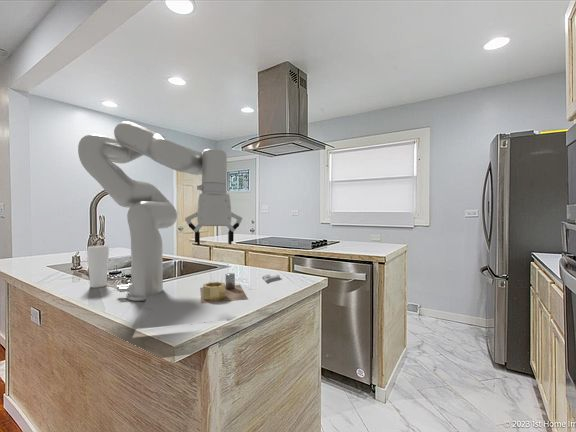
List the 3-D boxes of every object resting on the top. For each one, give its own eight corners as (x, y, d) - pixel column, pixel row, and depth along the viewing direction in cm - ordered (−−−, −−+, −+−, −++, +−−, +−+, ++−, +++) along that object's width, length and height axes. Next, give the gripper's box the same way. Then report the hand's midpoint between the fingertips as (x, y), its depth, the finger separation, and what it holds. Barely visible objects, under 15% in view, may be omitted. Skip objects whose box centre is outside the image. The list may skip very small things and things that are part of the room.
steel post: (226, 290, 104) (226, 275, 104) (225, 287, 107) (225, 273, 107) (235, 289, 105) (235, 274, 104) (234, 287, 108) (234, 273, 108)
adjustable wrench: (248, 294, 106) (248, 289, 106) (233, 292, 109) (233, 287, 109) (281, 278, 128) (281, 274, 128) (268, 277, 131) (268, 273, 131)
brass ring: (203, 301, 91) (203, 288, 91) (202, 295, 98) (202, 282, 97) (225, 299, 93) (225, 286, 93) (223, 293, 99) (223, 281, 99)
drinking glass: (90, 284, 116) (90, 245, 115) (110, 283, 118) (110, 245, 117) (85, 289, 109) (84, 247, 109) (106, 288, 111) (105, 247, 111)
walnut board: (201, 308, 89) (201, 303, 89) (200, 291, 107) (200, 287, 107) (248, 304, 94) (248, 299, 93) (240, 289, 111) (240, 284, 111)
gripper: (184, 188, 88) (184, 246, 89) (243, 189, 94) (243, 245, 94) (185, 189, 96) (185, 243, 96) (240, 190, 101) (240, 242, 101)
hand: (214, 244), depth 95 cm, fingers open, 9 cm apart
